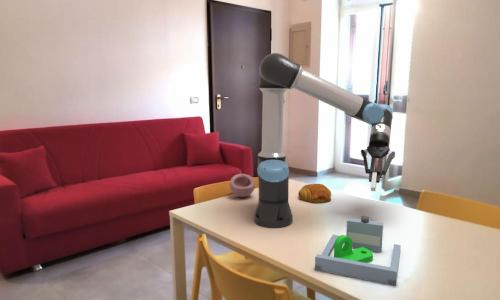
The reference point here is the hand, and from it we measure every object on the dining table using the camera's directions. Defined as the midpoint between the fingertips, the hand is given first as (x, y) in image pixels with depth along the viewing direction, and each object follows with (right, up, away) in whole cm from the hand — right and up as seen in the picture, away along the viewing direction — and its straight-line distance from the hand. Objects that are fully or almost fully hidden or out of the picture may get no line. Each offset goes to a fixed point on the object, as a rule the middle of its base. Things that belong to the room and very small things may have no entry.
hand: (373, 189), depth 137 cm
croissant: (-14, -9, +38) cm, 42 cm away
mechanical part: (-13, -20, -23) cm, 33 cm away
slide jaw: (-8, -18, -14) cm, 24 cm away
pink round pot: (-49, -8, +42) cm, 65 cm away
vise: (-11, -19, -22) cm, 31 cm away
